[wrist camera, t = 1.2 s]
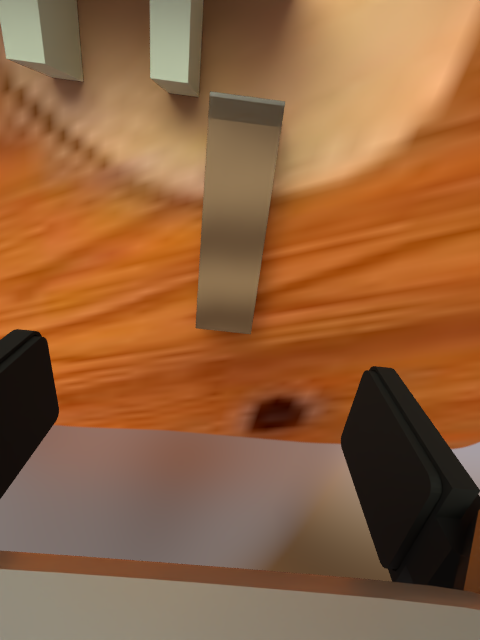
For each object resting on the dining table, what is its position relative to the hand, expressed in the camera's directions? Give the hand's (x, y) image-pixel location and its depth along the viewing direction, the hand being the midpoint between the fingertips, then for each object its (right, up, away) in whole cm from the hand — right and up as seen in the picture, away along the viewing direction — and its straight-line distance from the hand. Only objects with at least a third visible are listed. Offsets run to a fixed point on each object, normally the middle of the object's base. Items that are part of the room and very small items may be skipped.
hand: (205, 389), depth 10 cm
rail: (+1, +10, +15) cm, 18 cm away
